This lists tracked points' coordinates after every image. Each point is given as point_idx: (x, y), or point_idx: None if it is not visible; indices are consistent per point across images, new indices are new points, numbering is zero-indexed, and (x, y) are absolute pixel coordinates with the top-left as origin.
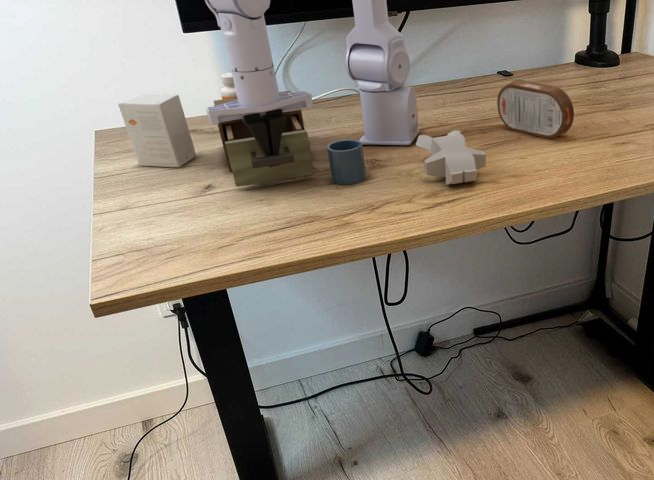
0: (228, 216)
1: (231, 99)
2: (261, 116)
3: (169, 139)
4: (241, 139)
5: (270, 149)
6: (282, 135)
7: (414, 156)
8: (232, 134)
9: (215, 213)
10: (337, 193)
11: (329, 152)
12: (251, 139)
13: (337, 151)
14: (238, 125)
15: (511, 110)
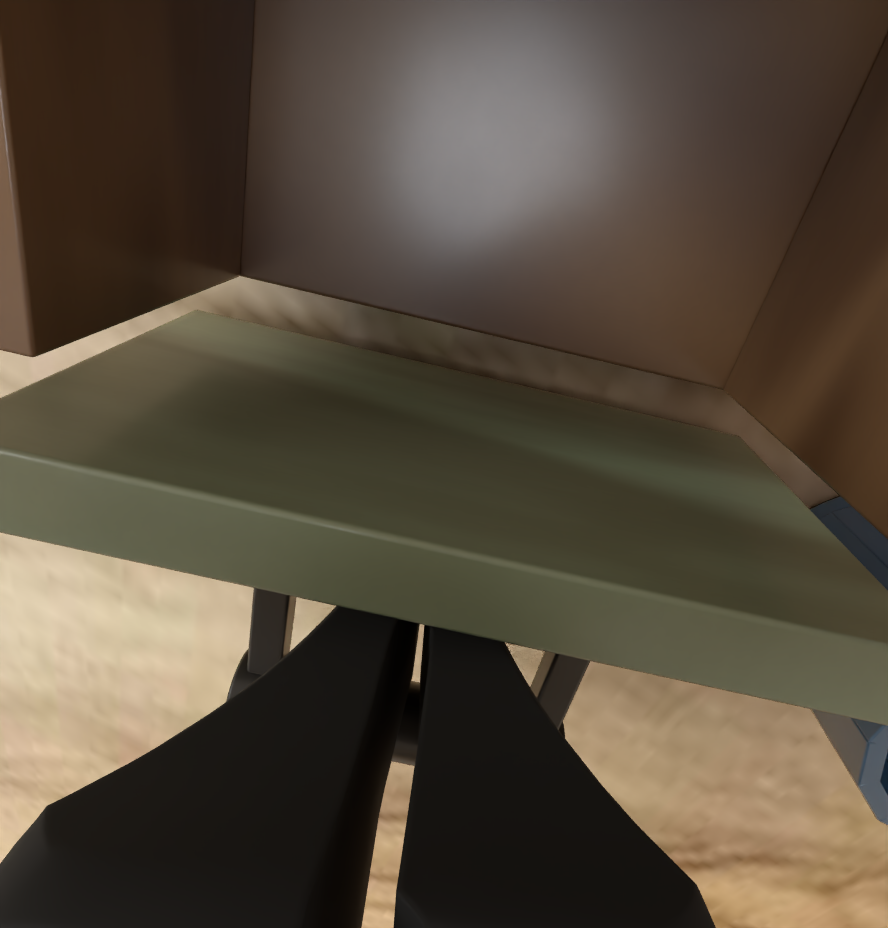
0: (141, 616)
1: None
2: (402, 859)
3: None
4: (137, 499)
5: (425, 653)
6: (618, 666)
7: None
8: (4, 123)
9: (80, 553)
10: (672, 691)
11: (849, 740)
12: (256, 573)
13: (876, 813)
14: None
15: None
